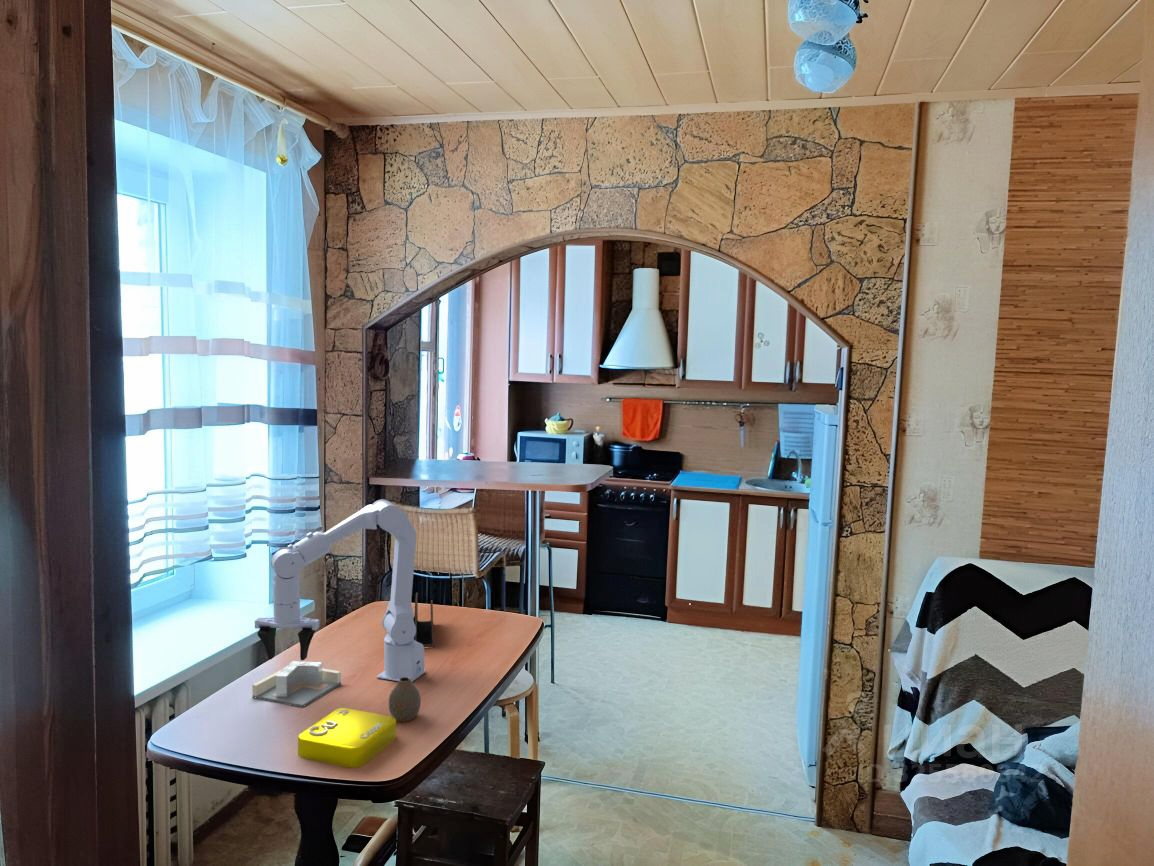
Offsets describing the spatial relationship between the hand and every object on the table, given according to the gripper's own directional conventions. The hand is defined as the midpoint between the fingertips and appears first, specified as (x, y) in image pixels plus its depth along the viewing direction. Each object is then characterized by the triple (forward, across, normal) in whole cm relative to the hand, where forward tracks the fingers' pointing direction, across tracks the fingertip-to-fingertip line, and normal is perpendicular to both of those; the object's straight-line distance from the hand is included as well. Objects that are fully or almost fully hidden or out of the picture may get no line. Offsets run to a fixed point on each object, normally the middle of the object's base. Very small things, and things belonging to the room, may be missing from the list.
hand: (287, 658), depth 181 cm
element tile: (+9, -22, +23) cm, 33 cm away
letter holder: (+9, -20, -41) cm, 46 cm away
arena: (+8, -2, -2) cm, 9 cm away
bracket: (+8, -2, -1) cm, 8 cm away
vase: (+9, -30, +10) cm, 33 cm away
